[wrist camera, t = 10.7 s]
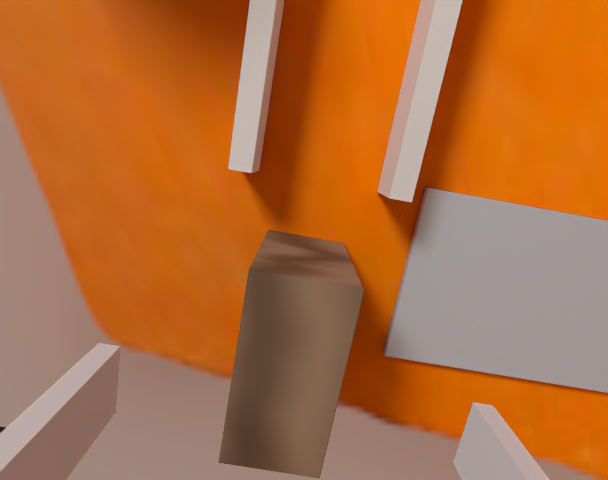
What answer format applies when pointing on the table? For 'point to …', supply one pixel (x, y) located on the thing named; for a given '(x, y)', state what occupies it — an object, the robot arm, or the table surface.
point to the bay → (410, 108)
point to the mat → (505, 291)
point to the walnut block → (291, 354)
